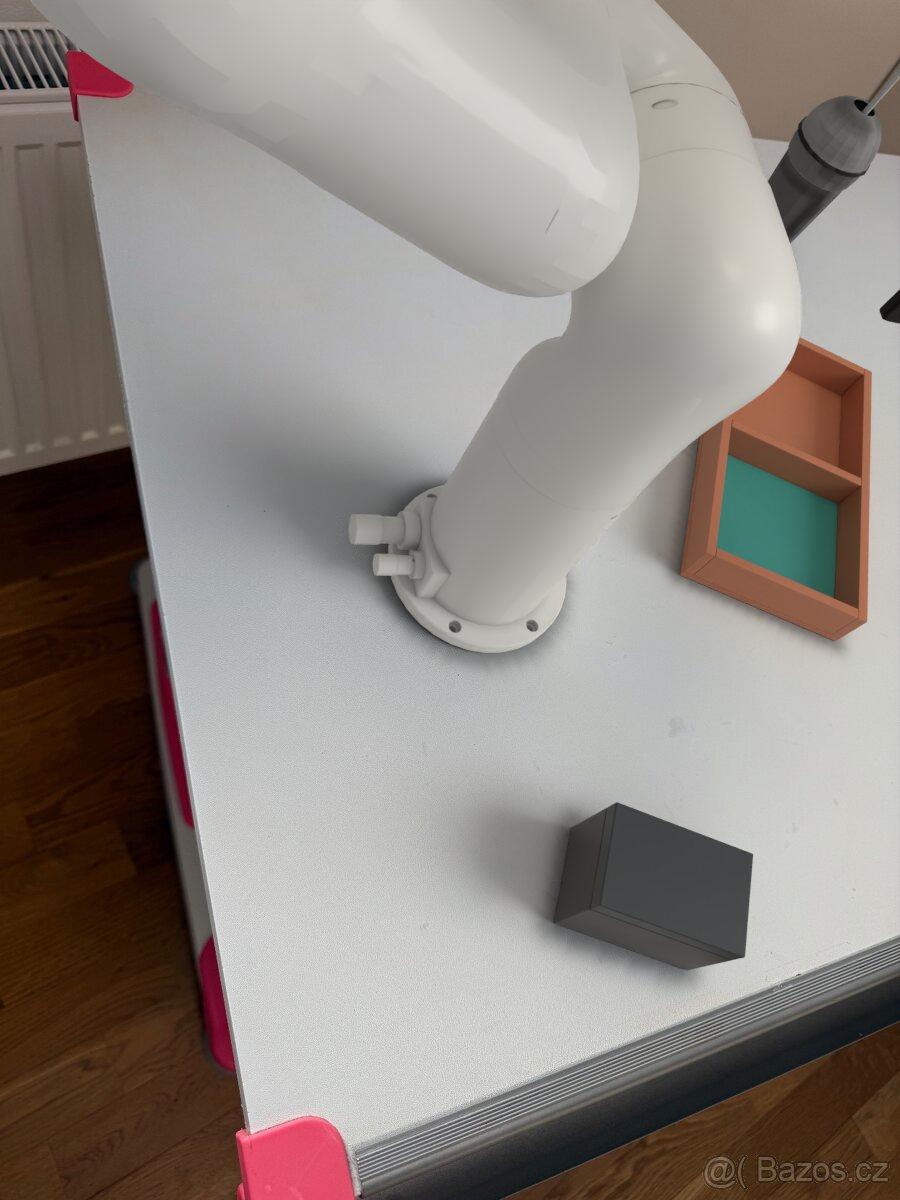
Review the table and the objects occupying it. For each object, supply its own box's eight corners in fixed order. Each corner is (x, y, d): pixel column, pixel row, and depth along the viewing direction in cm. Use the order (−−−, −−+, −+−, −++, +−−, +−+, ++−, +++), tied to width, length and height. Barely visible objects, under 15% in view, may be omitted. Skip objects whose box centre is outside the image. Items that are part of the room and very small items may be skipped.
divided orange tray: (679, 575, 72) (706, 551, 69) (714, 334, 86) (737, 306, 83) (835, 641, 74) (867, 621, 71) (844, 396, 88) (872, 371, 85)
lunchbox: (553, 923, 57) (599, 905, 52) (571, 827, 60) (616, 801, 55) (687, 970, 58) (745, 957, 53) (698, 874, 61) (753, 853, 56)
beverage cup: (785, 231, 96) (934, 48, 80) (790, 283, 93) (948, 102, 76) (721, 207, 95) (860, 13, 78) (724, 258, 91) (870, 67, 74)
